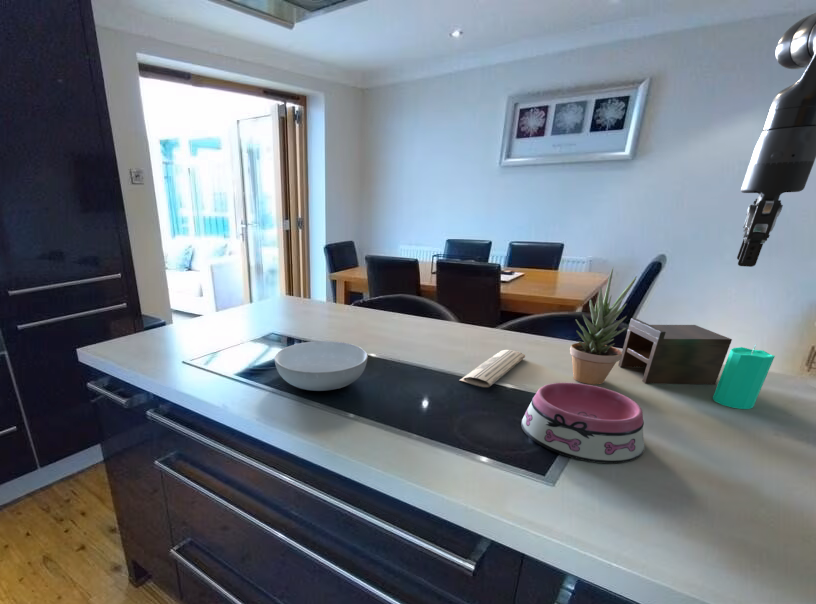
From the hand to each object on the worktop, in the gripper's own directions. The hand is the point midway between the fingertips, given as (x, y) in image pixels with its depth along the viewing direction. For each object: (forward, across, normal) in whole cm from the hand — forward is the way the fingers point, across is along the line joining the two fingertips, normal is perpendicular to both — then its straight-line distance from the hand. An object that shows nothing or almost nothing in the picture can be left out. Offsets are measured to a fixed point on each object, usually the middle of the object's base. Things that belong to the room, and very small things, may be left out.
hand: (745, 263), depth 78 cm
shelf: (+27, +12, +6) cm, 30 cm away
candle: (+27, +3, -5) cm, 28 cm away
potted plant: (+27, -1, +19) cm, 33 cm away
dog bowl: (+27, -30, +15) cm, 43 cm away
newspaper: (+27, -8, +37) cm, 47 cm away
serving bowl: (+27, -39, +65) cm, 81 cm away
